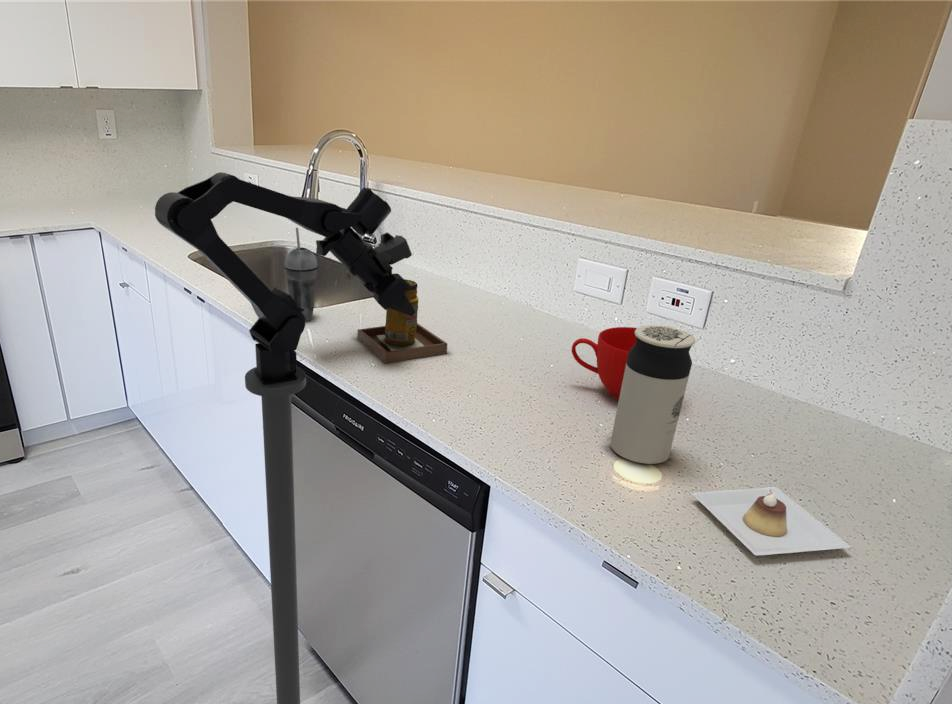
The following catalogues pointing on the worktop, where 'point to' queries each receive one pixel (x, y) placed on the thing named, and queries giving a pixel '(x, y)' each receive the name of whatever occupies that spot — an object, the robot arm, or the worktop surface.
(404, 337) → the condiment
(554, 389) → the worktop surface
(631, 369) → the travel mug
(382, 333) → the tray
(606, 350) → the ceramic cup
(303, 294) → the beverage cup
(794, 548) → the dessert
